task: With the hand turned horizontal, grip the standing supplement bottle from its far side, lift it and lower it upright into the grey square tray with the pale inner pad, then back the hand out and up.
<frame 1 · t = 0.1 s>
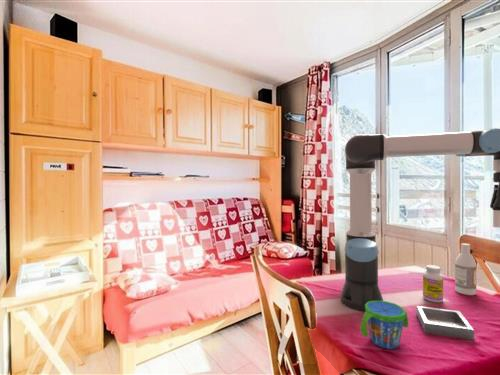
bath foam: (465, 292, 115), on the table
snack cup: (384, 343, 81), on the table
grey square tray: (442, 326, 89), on the table
supplement bottle: (432, 299, 109), on the table
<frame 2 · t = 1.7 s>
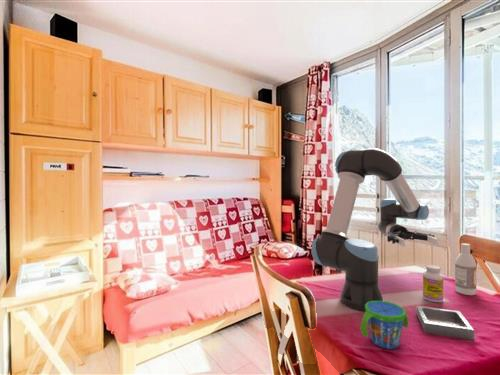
hand: (420, 242, 117), 20 cm above the table, tool horizontal, fingers open, 13 cm apart
nothing on the table moved.
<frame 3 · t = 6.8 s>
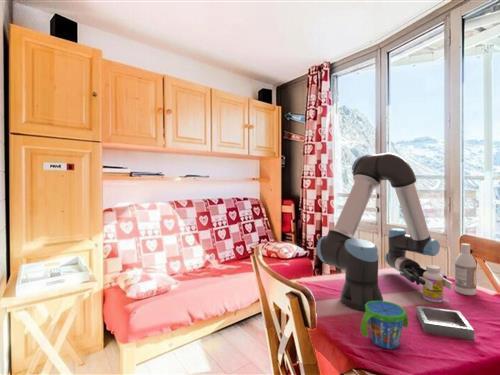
hand: (441, 286, 104), 7 cm above the table, tool horizontal, fingers closed on supplement bottle, 7 cm apart
supplement bottle: (432, 299, 109), on the table, touching gripper
everything else where it was.
when the fingers open (8 cm above the table, at t = 12.8 s): supplement bottle drops 1 cm, resting on grey square tray.
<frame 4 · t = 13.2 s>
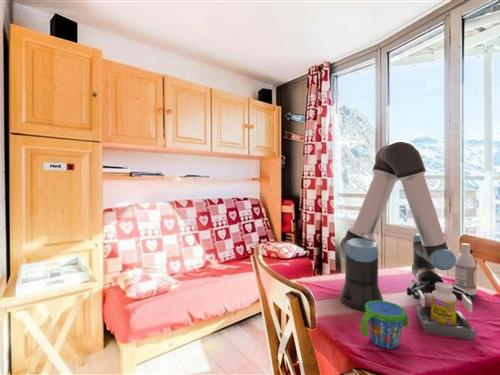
hand: (446, 304, 85), 8 cm above the table, tool horizontal, fingers open, 11 cm apart
supplement bottle: (443, 325, 89), resting on grey square tray
everything else where it was.
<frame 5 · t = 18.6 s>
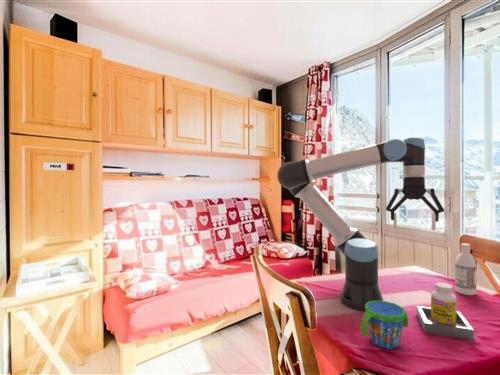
hand: (413, 229, 113), 27 cm above the table, tool pointing down, fingers open, 13 cm apart
nothing on the table moved.
at the end: supplement bottle 0.1 cm off-centre on the grey square tray, point 0.2 cm above the grey square tray's base; supplement bottle tilted 0°; the gripper is holding nothing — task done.
